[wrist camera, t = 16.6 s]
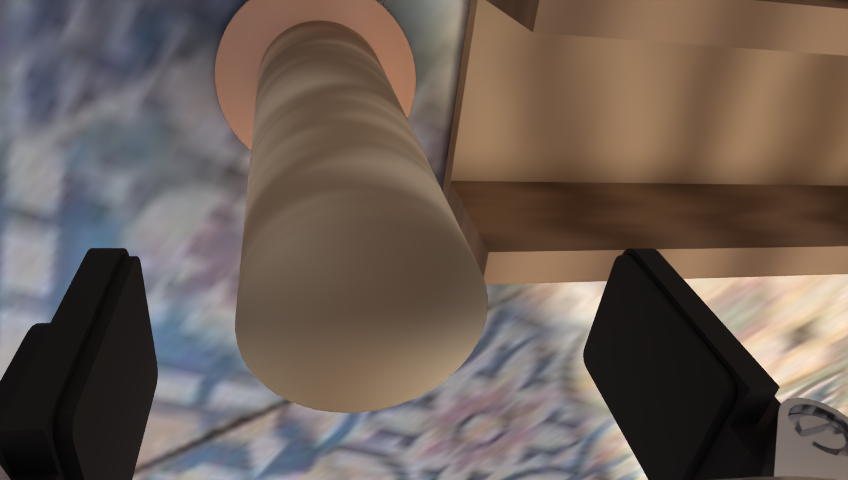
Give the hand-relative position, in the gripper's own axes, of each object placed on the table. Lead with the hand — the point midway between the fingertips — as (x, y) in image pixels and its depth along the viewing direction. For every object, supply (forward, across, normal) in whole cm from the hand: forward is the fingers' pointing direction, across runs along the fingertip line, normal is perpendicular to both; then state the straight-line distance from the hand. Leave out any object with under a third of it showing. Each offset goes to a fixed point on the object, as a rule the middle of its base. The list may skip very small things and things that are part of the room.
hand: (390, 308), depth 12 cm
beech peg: (+15, +1, 0) cm, 15 cm away
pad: (+16, +1, 0) cm, 16 cm away
